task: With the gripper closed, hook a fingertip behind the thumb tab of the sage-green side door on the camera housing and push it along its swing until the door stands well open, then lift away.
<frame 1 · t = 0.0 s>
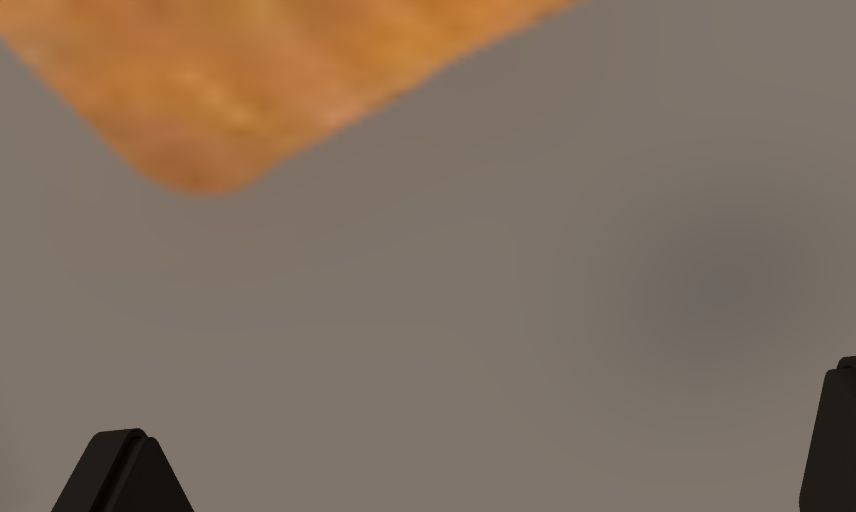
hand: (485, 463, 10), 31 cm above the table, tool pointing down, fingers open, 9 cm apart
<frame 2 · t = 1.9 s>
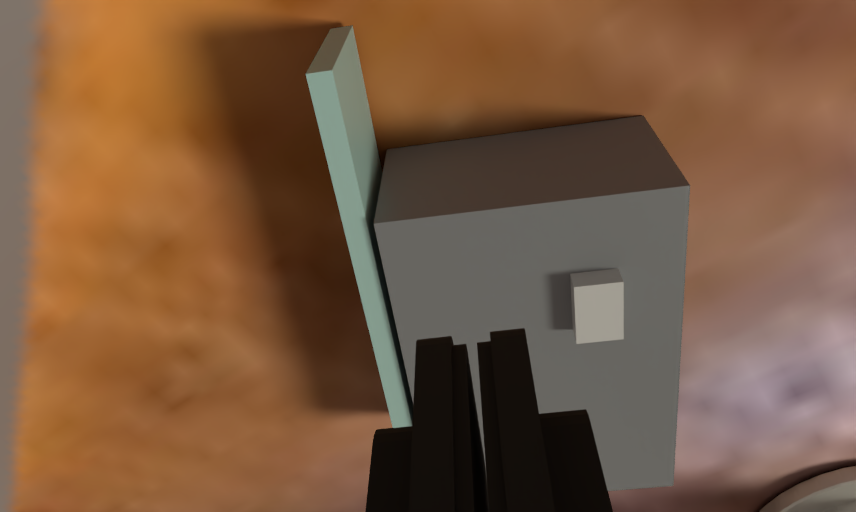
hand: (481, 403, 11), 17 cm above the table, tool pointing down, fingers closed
housing: (526, 279, 31), on the table
door: (385, 291, 28), point 3 cm above the table, hinge at 0.0°
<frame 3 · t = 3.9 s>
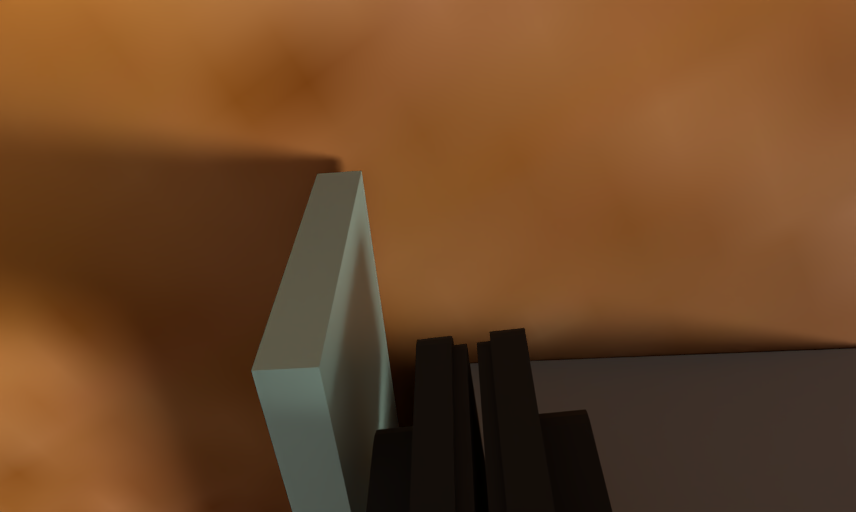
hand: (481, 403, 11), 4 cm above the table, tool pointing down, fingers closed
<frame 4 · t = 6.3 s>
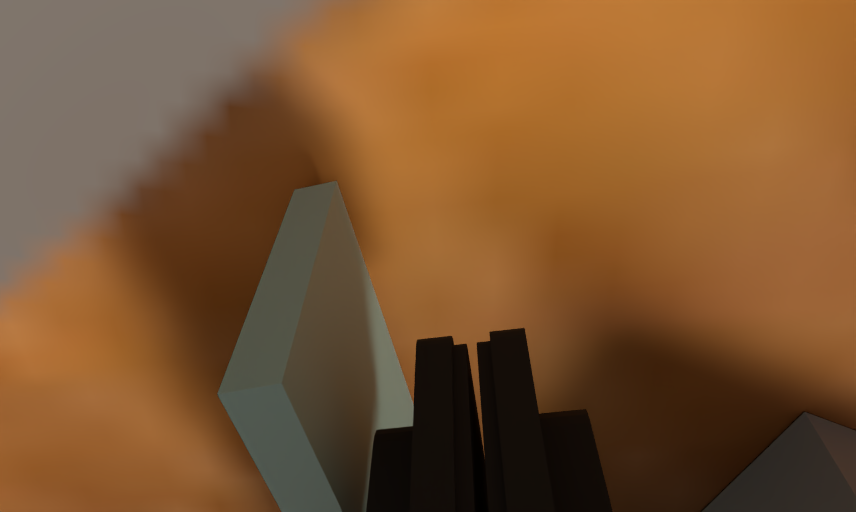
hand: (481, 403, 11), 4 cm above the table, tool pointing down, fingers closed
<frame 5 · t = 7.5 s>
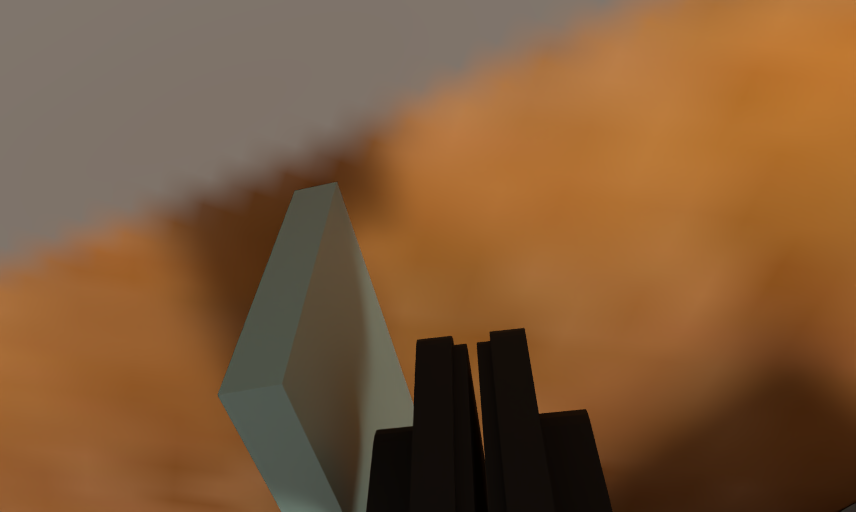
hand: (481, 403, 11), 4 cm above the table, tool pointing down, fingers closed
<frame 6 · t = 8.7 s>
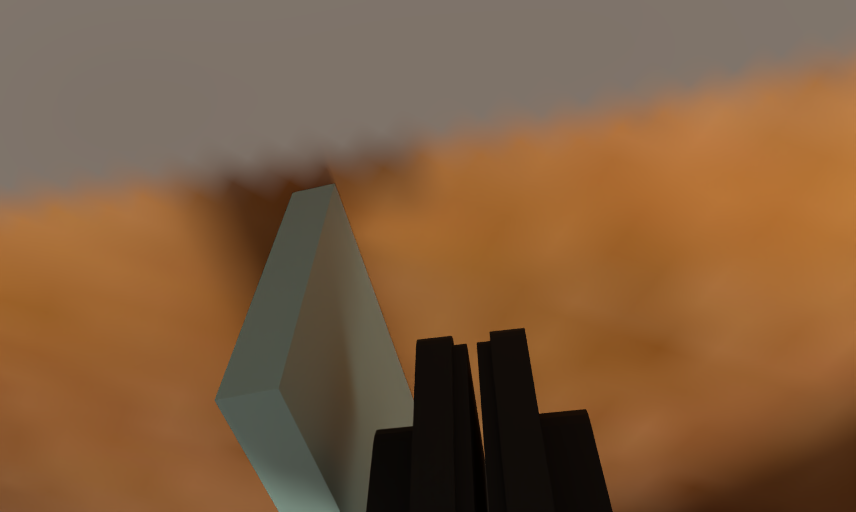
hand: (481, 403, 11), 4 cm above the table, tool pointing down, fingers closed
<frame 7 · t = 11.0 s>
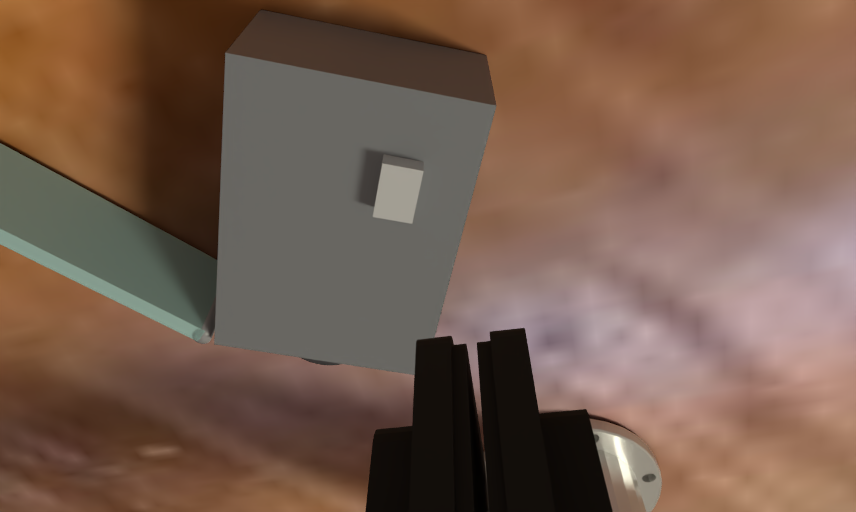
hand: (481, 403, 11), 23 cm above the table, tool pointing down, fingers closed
housing: (353, 173, 34), on the table
door: (33, 208, 32), point 3 cm above the table, hinge at 65.5°
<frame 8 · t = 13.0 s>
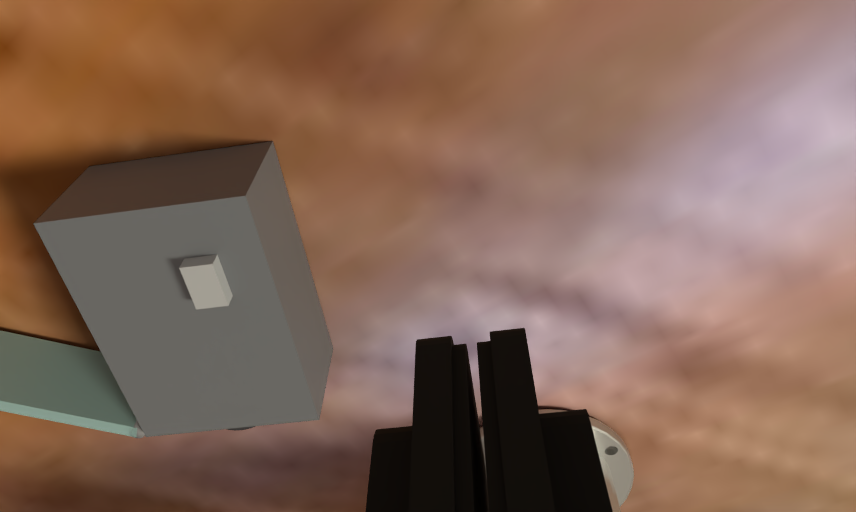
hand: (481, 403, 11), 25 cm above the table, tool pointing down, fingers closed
housing: (221, 264, 40), on the table
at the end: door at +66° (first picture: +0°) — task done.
